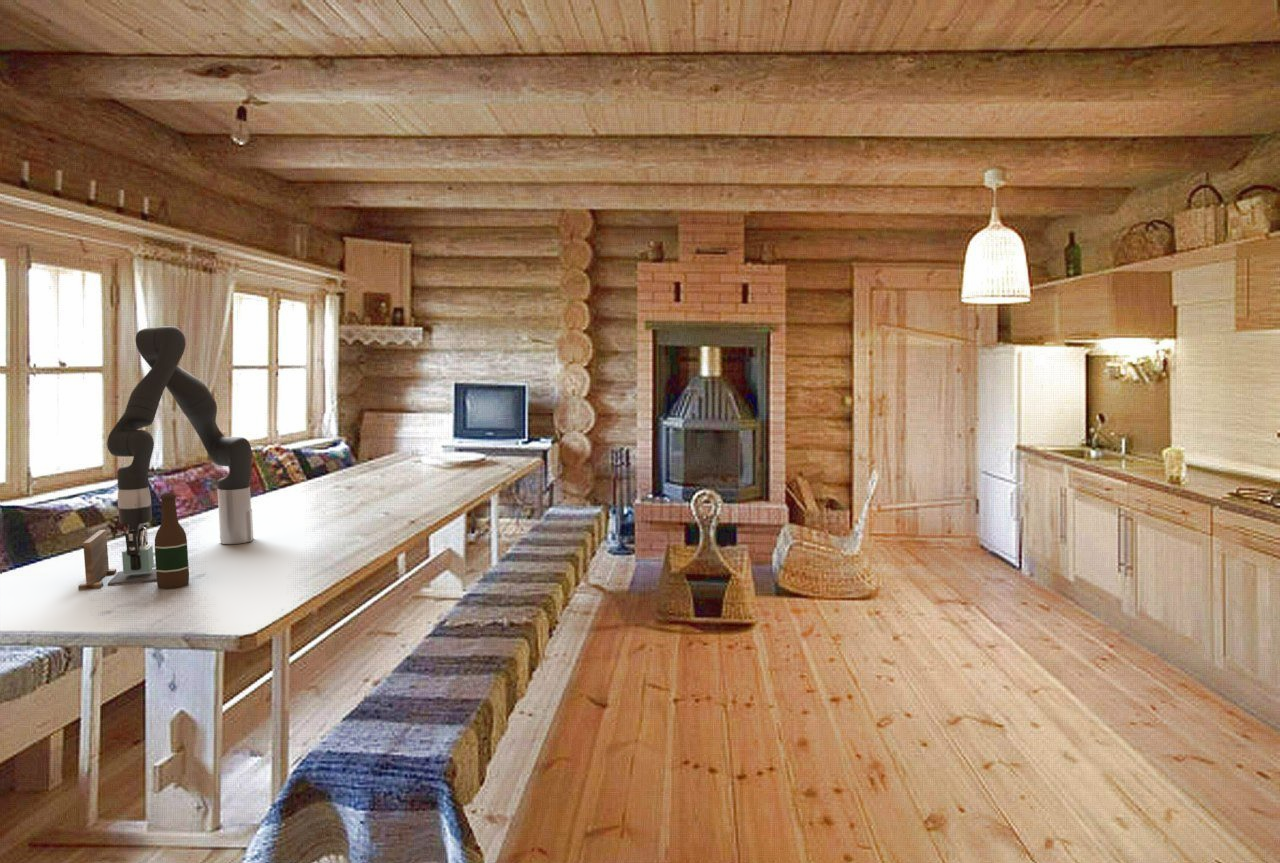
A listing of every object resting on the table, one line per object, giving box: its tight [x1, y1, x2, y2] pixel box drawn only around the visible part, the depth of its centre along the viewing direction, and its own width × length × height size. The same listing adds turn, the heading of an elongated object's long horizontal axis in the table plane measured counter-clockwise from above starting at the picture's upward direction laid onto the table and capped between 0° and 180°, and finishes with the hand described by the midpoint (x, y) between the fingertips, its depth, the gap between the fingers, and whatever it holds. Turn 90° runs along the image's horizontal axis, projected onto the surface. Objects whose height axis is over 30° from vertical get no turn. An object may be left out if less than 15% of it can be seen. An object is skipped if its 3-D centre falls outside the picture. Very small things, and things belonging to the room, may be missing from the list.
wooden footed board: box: [77, 529, 117, 591], centre depth 220 cm, size 5×16×12 cm, turn 20°
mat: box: [107, 568, 157, 586], centre depth 224 cm, size 12×12×1 cm
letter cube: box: [121, 544, 155, 574], centre depth 223 cm, size 6×6×6 cm
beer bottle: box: [154, 492, 190, 590], centre depth 215 cm, size 8×8×24 cm
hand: (138, 566), depth 224 cm, fingers closed on letter cube, 6 cm apart
